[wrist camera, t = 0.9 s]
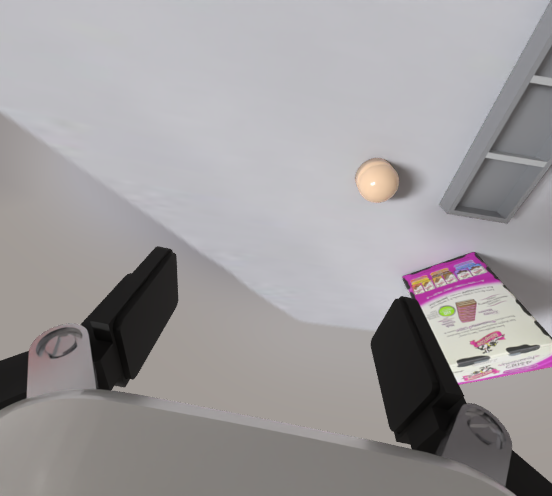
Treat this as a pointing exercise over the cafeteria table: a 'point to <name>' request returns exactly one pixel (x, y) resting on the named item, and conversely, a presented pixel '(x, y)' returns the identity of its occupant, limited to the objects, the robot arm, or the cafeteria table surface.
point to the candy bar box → (478, 321)
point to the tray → (510, 139)
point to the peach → (377, 180)
